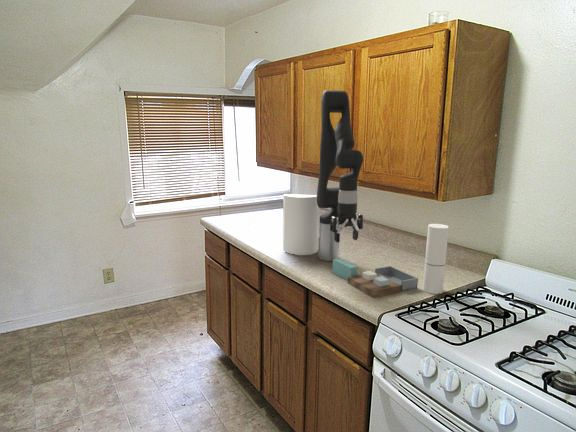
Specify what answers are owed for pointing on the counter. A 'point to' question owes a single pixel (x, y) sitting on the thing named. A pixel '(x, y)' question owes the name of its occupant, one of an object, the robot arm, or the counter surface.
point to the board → (373, 286)
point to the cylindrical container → (435, 258)
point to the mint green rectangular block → (344, 269)
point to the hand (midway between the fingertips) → (346, 240)
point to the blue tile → (381, 281)
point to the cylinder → (300, 224)
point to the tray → (398, 277)
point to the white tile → (369, 275)
